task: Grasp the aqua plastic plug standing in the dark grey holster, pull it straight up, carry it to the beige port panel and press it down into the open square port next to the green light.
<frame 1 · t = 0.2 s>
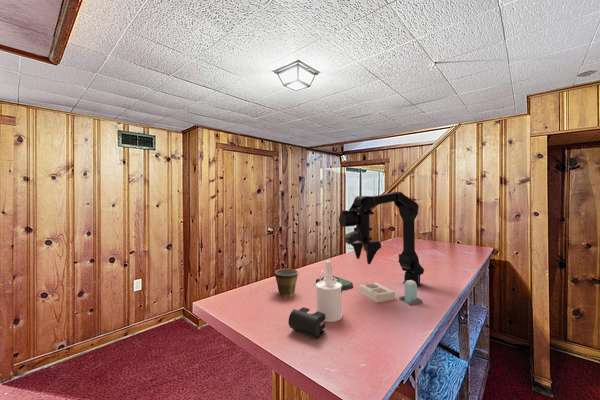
hand: (363, 261, 117), 14 cm above the table, fingers open, 9 cm apart
disk drive: (334, 286, 129), on the table
olive plant pot: (284, 294, 119), on the table
plug: (410, 301, 109), resting on holster
end cap: (307, 333, 87), on the table
white pump bottle: (329, 316, 98), on the table
port block: (376, 296, 115), on the table
holster: (410, 302, 109), on the table
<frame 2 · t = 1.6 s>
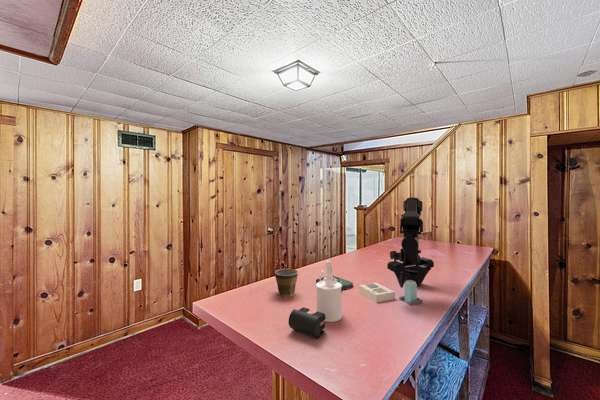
hand: (410, 285, 109), 7 cm above the table, fingers open, 9 cm apart
nothing on the table moved.
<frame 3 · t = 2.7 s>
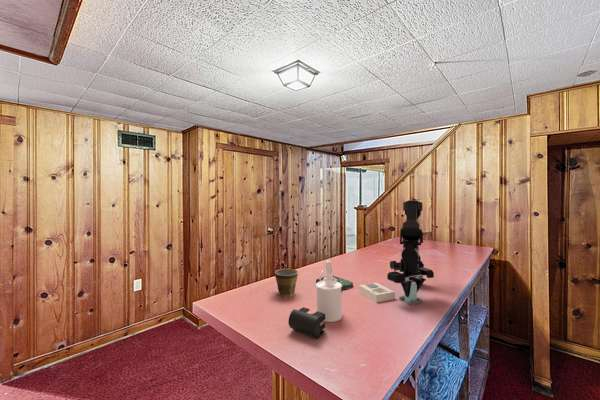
hand: (410, 296, 109), 3 cm above the table, fingers closed on plug, 3 cm apart
plug: (410, 301, 109), resting on holster, touching gripper
everything else where it was.
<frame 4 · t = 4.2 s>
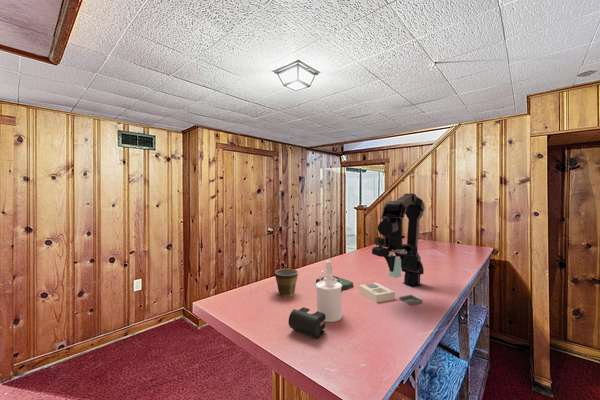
hand: (394, 271, 110), 12 cm above the table, fingers closed on plug, 3 cm apart
plug: (395, 276, 110), point 10 cm above the table, touching gripper
everything else where it was.
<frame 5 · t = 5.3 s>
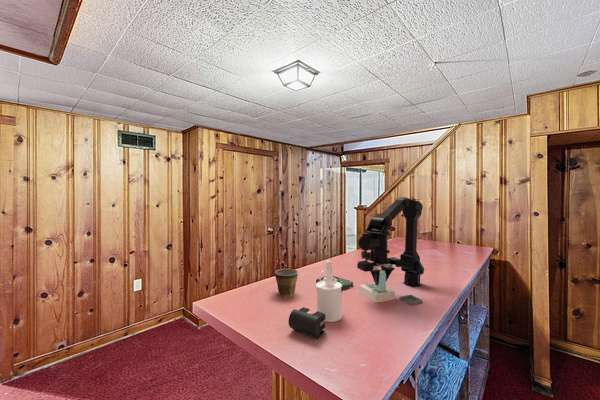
hand: (380, 284, 112), 6 cm above the table, fingers closed on plug, 3 cm apart
plug: (380, 289, 112), point 4 cm above the table, touching gripper
everything else where it was.
when the fingers open (4 cm above the table, at t = 5.9 s): plug drops 2 cm, resting on port block.
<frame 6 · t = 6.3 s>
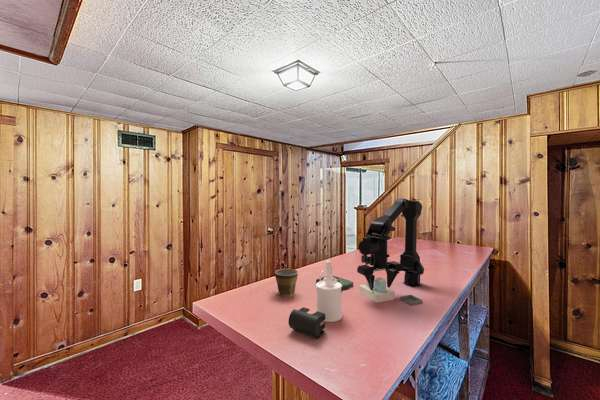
hand: (380, 288, 112), 4 cm above the table, fingers open, 8 cm apart
plug: (380, 297, 112), resting on port block
everything else where it was.
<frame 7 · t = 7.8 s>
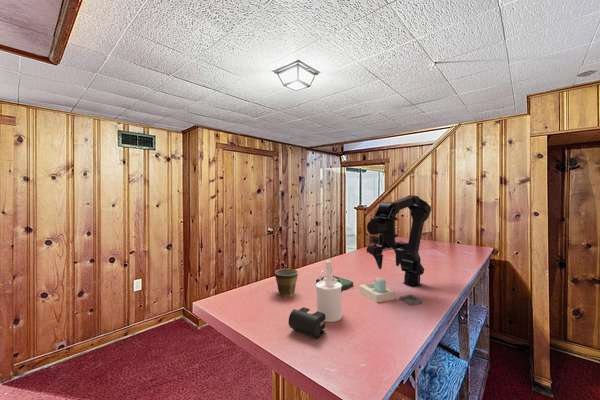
hand: (388, 267, 117), 12 cm above the table, fingers open, 9 cm apart
nothing on the table moved.
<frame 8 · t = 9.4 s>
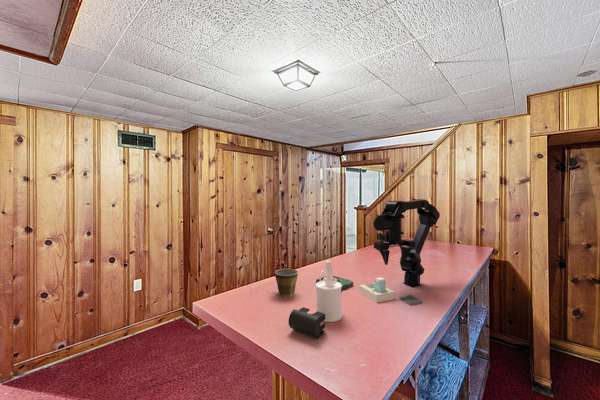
hand: (394, 263, 121), 12 cm above the table, fingers open, 9 cm apart
nothing on the table moved.
at the end: plug 0.1 cm from the target spot on the port block, point 0.5 cm above the port block's base; plug tilted 0°; the gripper is holding nothing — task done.
